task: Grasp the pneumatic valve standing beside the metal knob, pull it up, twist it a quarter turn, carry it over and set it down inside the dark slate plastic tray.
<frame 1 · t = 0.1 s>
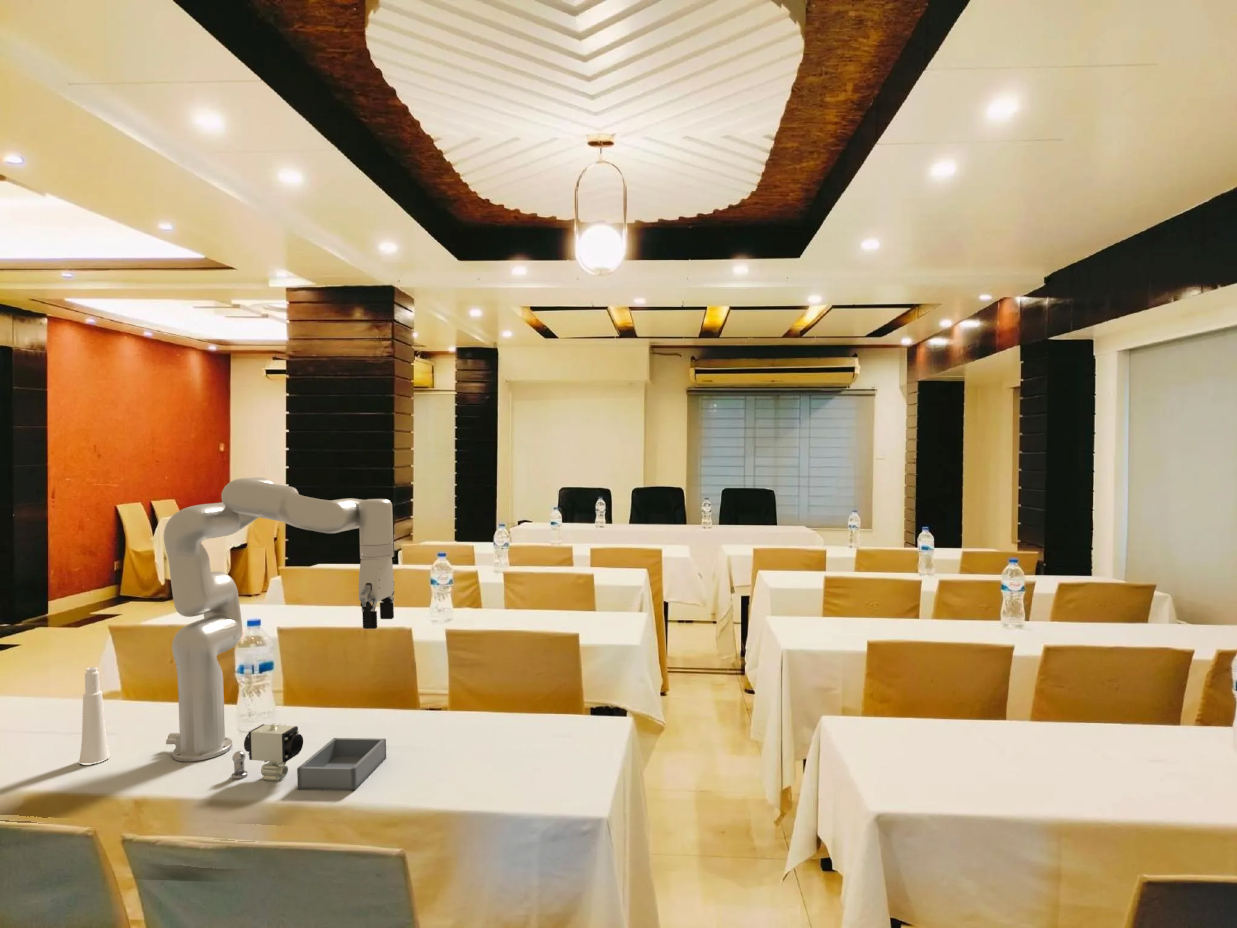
hand: (378, 623, 173), 31 cm above the table, fingers open, 9 cm apart
pneumatic valve: (276, 777, 163), on the table
cosmetic bottle: (94, 761, 174), on the table
tray: (344, 773, 164), on the table
metal knob: (239, 776, 163), on the table
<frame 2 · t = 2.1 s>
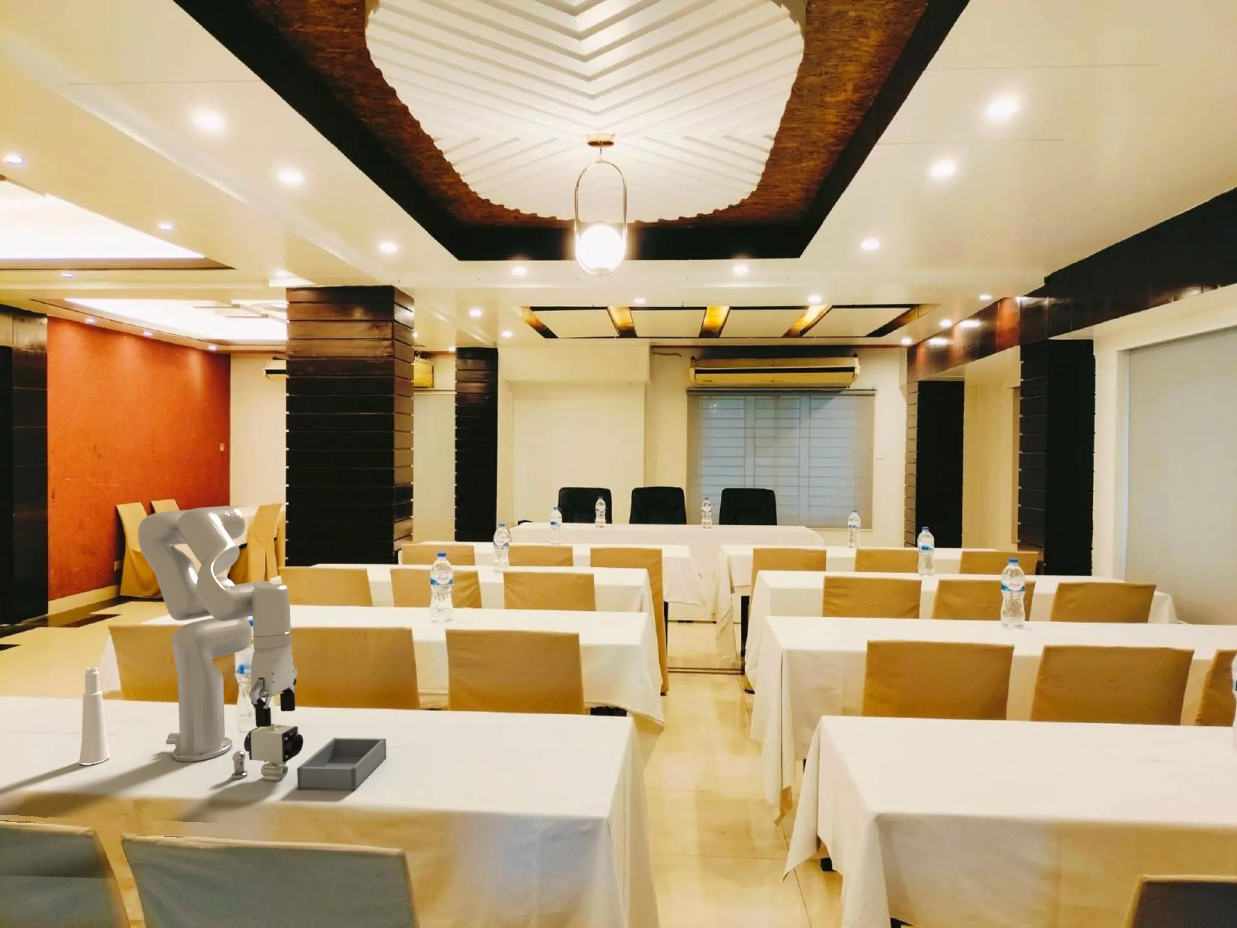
hand: (276, 718, 162), 13 cm above the table, fingers open, 9 cm apart
nothing on the table moved.
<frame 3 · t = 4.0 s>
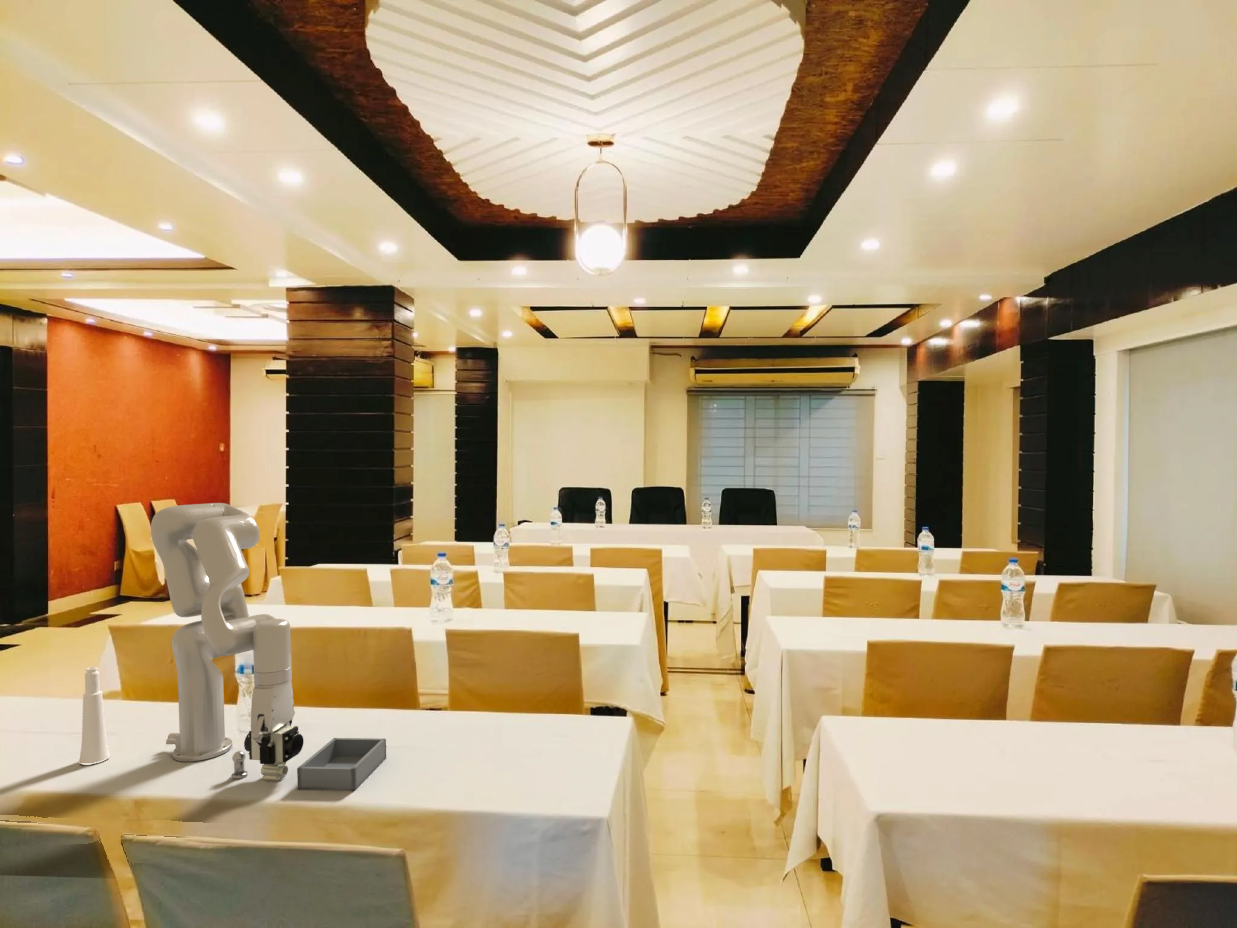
hand: (275, 756, 163), 5 cm above the table, fingers closed on pneumatic valve, 5 cm apart
pneumatic valve: (275, 777, 163), on the table, touching gripper
everything else where it was.
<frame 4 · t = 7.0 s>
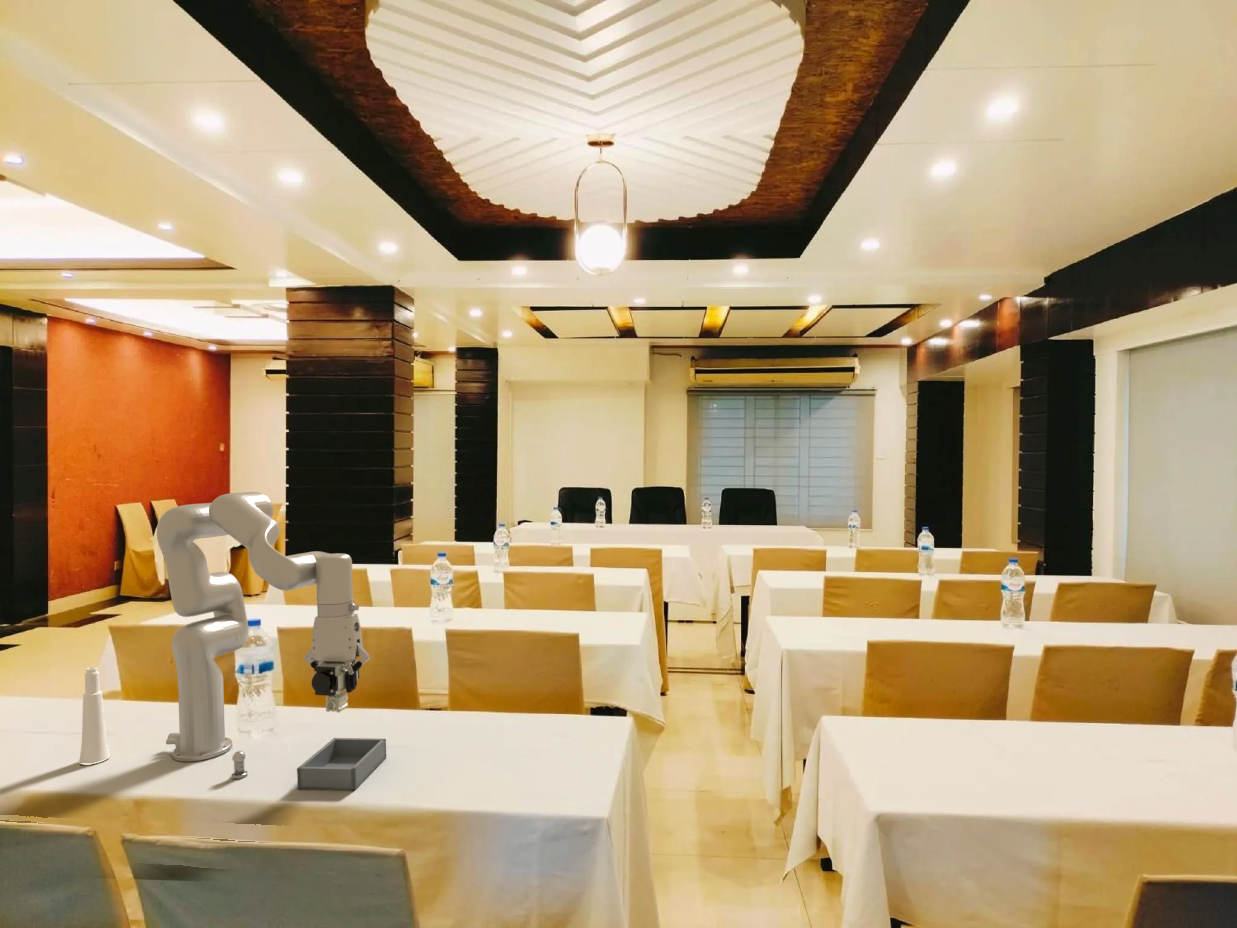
hand: (338, 689, 164), 19 cm above the table, fingers closed on pneumatic valve, 5 cm apart
pneumatic valve: (338, 710, 164), point 14 cm above the table, touching gripper
everything else where it was.
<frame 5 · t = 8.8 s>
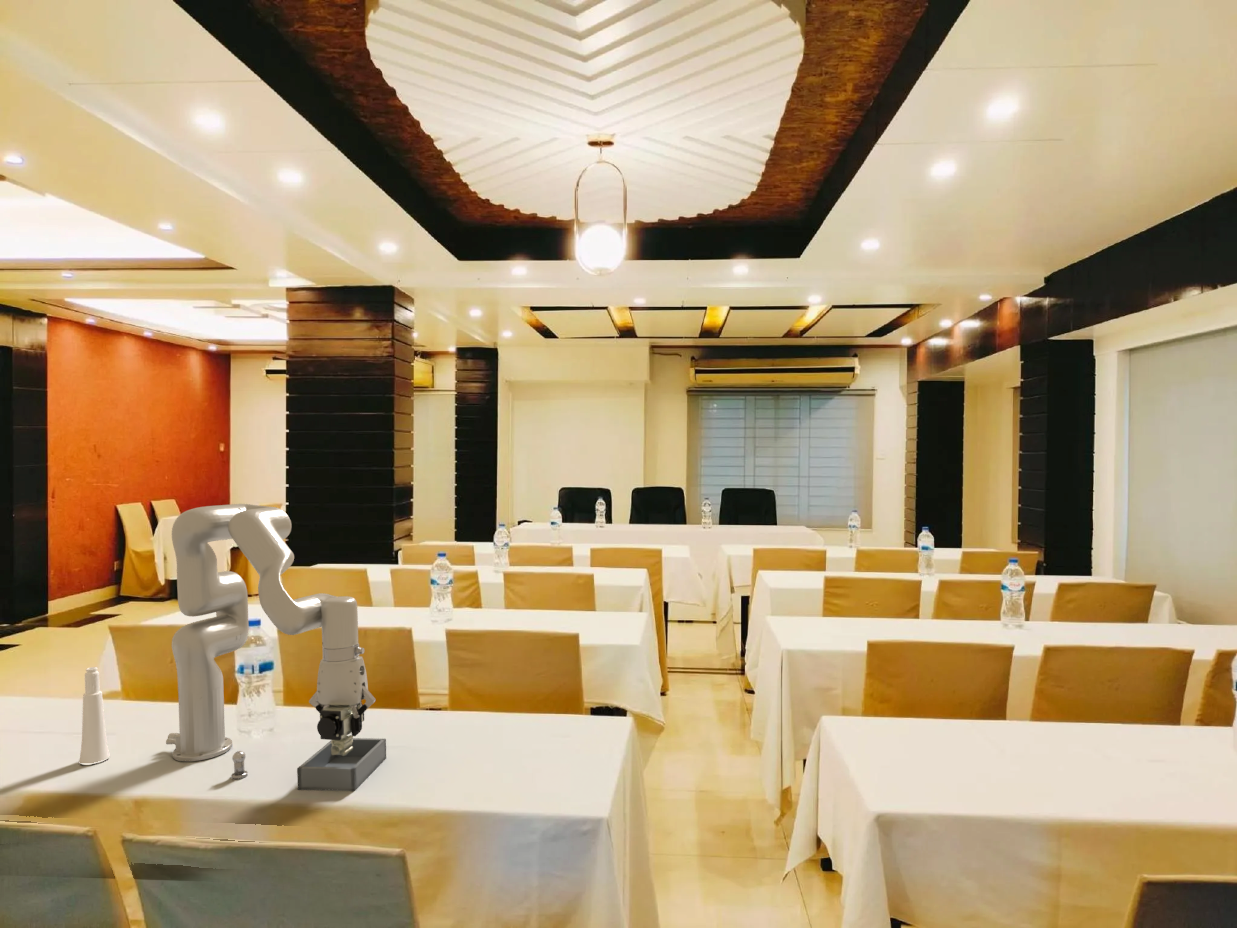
hand: (343, 732, 164), 9 cm above the table, fingers closed on pneumatic valve, 5 cm apart
pneumatic valve: (344, 753, 164), point 4 cm above the table, touching gripper
everything else where it was.
when the fingers open (6 cm above the table, at t = 10.2 s): pneumatic valve drops 1 cm, resting on tray.
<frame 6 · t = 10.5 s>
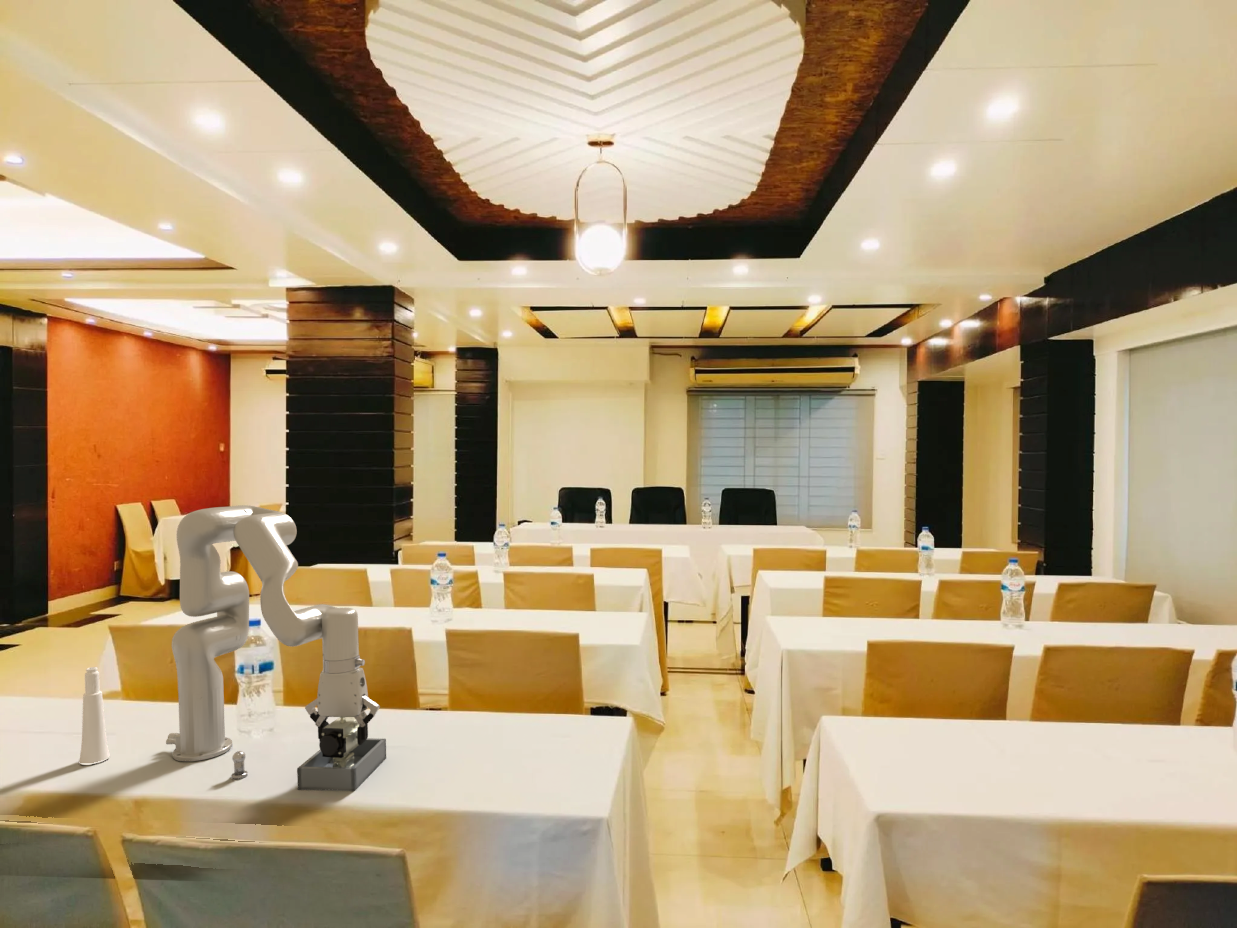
hand: (343, 741, 164), 7 cm above the table, fingers open, 8 cm apart
pneumatic valve: (345, 771, 164), resting on tray
everything else where it was.
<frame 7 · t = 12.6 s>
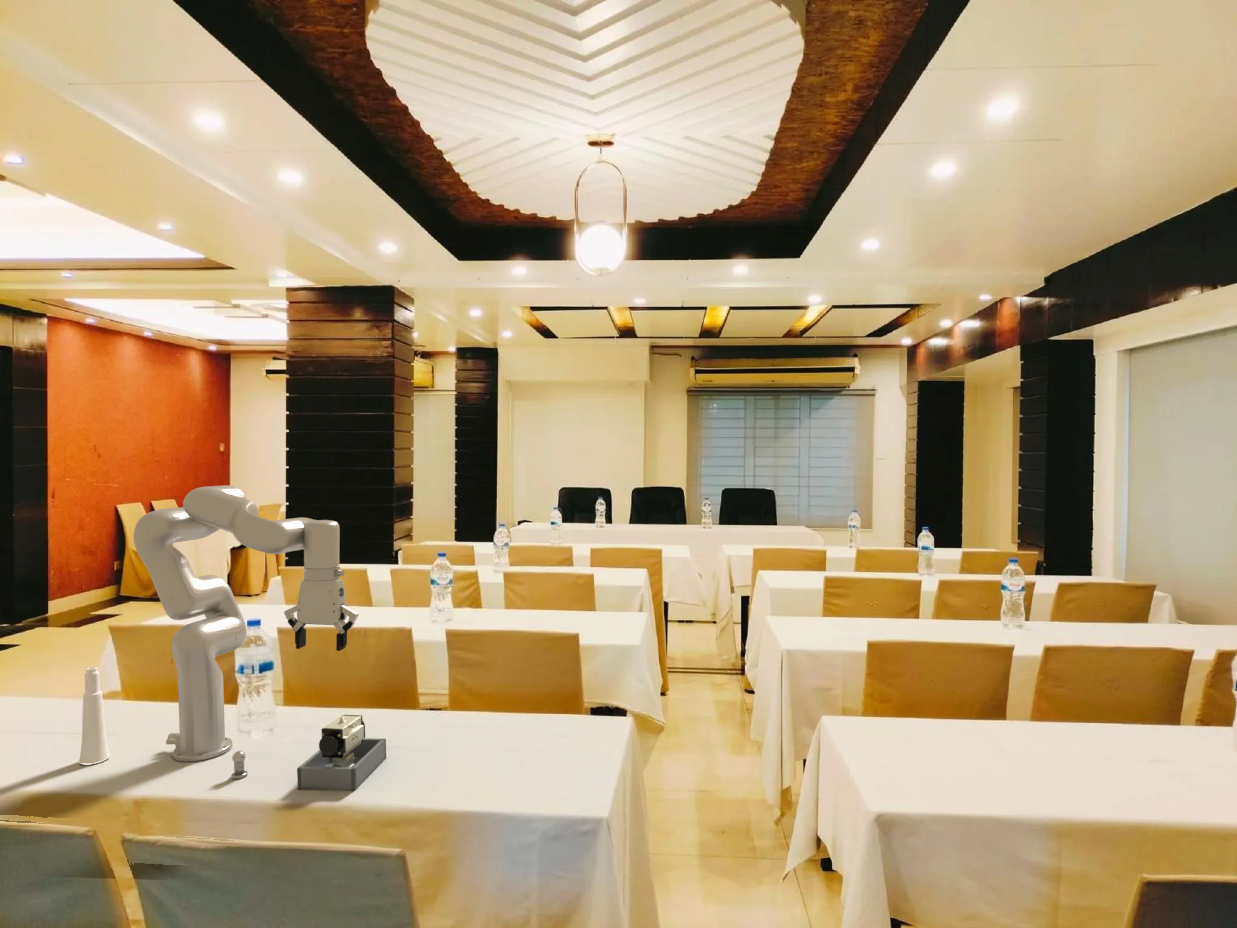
hand: (320, 648, 169), 27 cm above the table, fingers open, 9 cm apart
nothing on the table moved.
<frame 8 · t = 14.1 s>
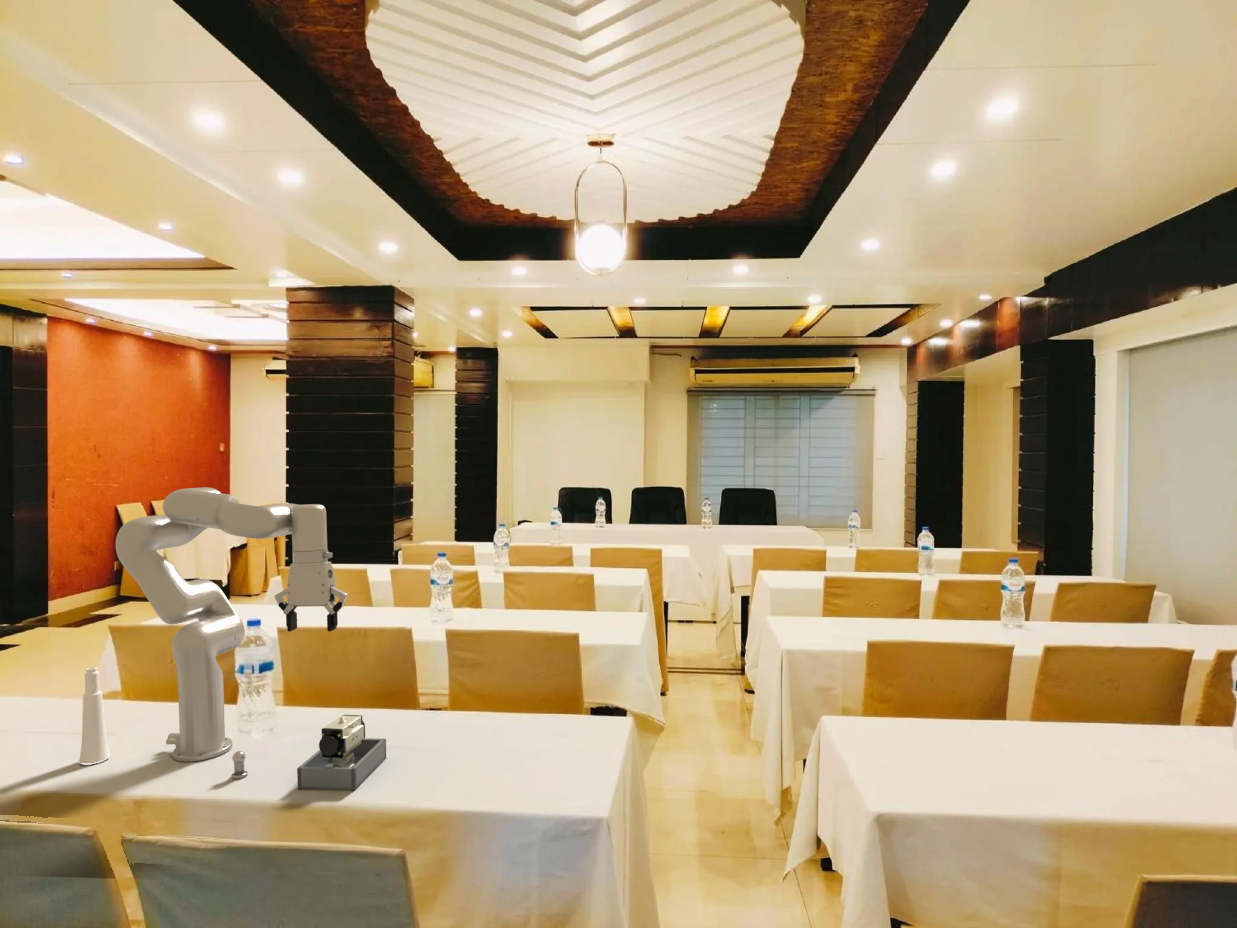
hand: (312, 630, 172), 30 cm above the table, fingers open, 9 cm apart
nothing on the table moved.
at the end: pneumatic valve inside the target area on the tray (0.3 cm from its centre), point 0.4 cm above the tray's base; pneumatic valve tilted 0°; the gripper is holding nothing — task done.
